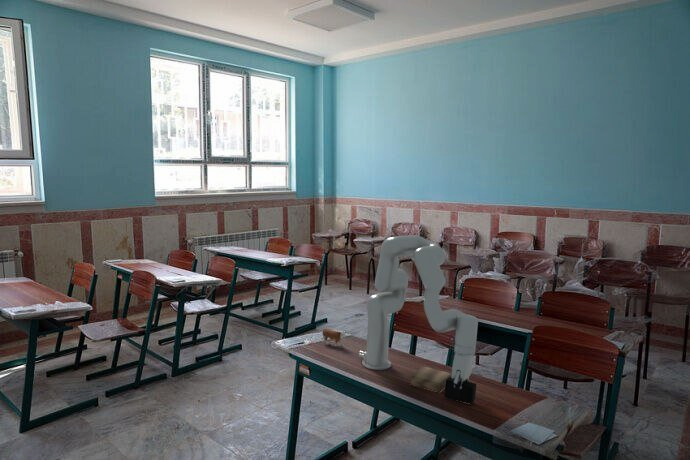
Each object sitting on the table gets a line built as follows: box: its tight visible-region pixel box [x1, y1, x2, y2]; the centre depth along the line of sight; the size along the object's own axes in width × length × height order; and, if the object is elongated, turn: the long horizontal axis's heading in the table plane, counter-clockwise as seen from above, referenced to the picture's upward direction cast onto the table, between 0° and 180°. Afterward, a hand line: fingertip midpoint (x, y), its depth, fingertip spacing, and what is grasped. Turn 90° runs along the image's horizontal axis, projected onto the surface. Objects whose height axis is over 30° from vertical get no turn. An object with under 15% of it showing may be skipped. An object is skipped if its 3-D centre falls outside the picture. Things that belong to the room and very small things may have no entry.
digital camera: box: [444, 376, 477, 405], centre depth 182 cm, size 10×5×7 cm, turn 58°
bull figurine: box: [322, 328, 347, 348], centre depth 236 cm, size 4×13×8 cm, turn 57°
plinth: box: [409, 366, 452, 392], centre depth 196 cm, size 13×13×4 cm
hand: (460, 394), depth 182 cm, fingers closed on digital camera, 5 cm apart
